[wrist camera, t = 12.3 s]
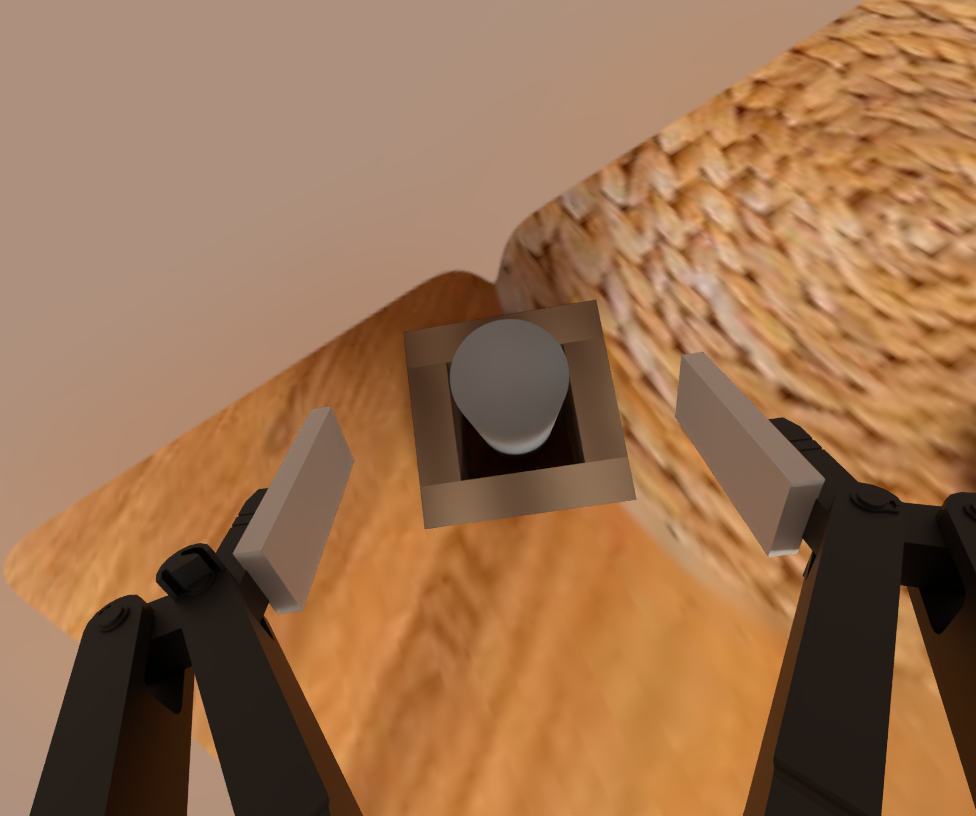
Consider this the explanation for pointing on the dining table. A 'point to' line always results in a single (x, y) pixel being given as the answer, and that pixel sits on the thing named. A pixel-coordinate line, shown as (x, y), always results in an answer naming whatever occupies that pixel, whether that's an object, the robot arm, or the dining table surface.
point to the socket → (583, 484)
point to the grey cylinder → (510, 385)
